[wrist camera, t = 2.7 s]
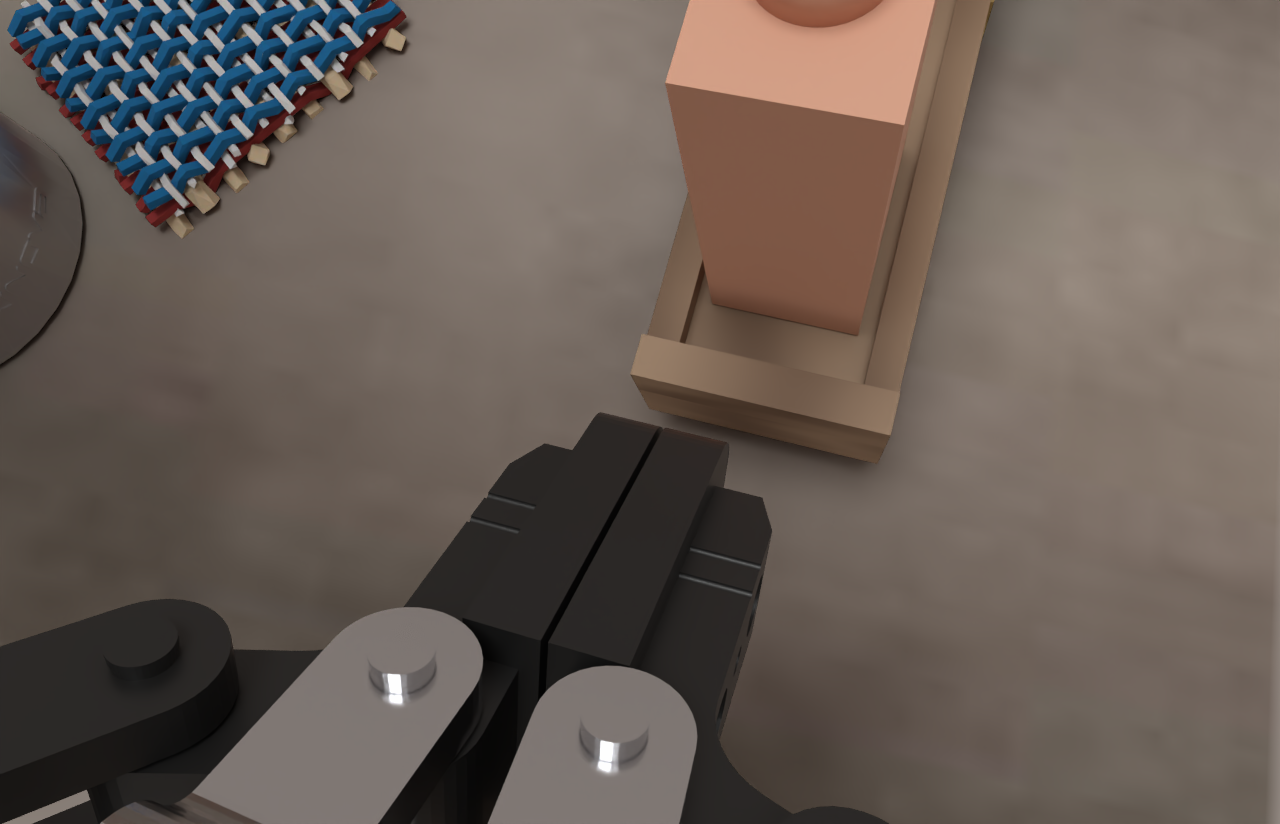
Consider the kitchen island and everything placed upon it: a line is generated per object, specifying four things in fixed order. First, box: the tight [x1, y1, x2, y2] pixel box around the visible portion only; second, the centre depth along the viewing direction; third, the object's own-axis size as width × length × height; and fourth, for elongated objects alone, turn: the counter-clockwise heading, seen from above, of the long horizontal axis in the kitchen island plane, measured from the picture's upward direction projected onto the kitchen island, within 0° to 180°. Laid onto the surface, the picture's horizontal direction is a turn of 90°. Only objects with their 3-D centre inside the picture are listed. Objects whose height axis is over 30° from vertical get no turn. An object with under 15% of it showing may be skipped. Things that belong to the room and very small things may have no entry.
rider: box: [665, 0, 938, 335], centre depth 20 cm, size 4×5×11 cm
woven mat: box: [7, 0, 406, 239], centre depth 34 cm, size 10×11×2 cm
